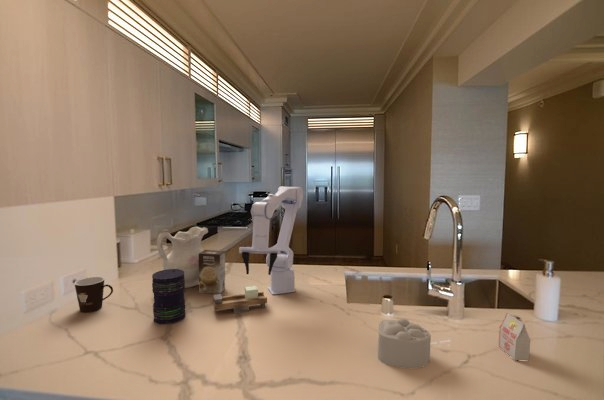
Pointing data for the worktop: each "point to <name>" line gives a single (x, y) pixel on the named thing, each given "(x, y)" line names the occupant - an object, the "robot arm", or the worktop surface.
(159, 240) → the ceramic pitcher
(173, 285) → the storage jar
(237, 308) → the beam
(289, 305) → the worktop surface
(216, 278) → the coffee box
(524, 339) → the gable top carton
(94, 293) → the coffee mug
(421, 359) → the lumpy-topped squat cylinder
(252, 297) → the block
